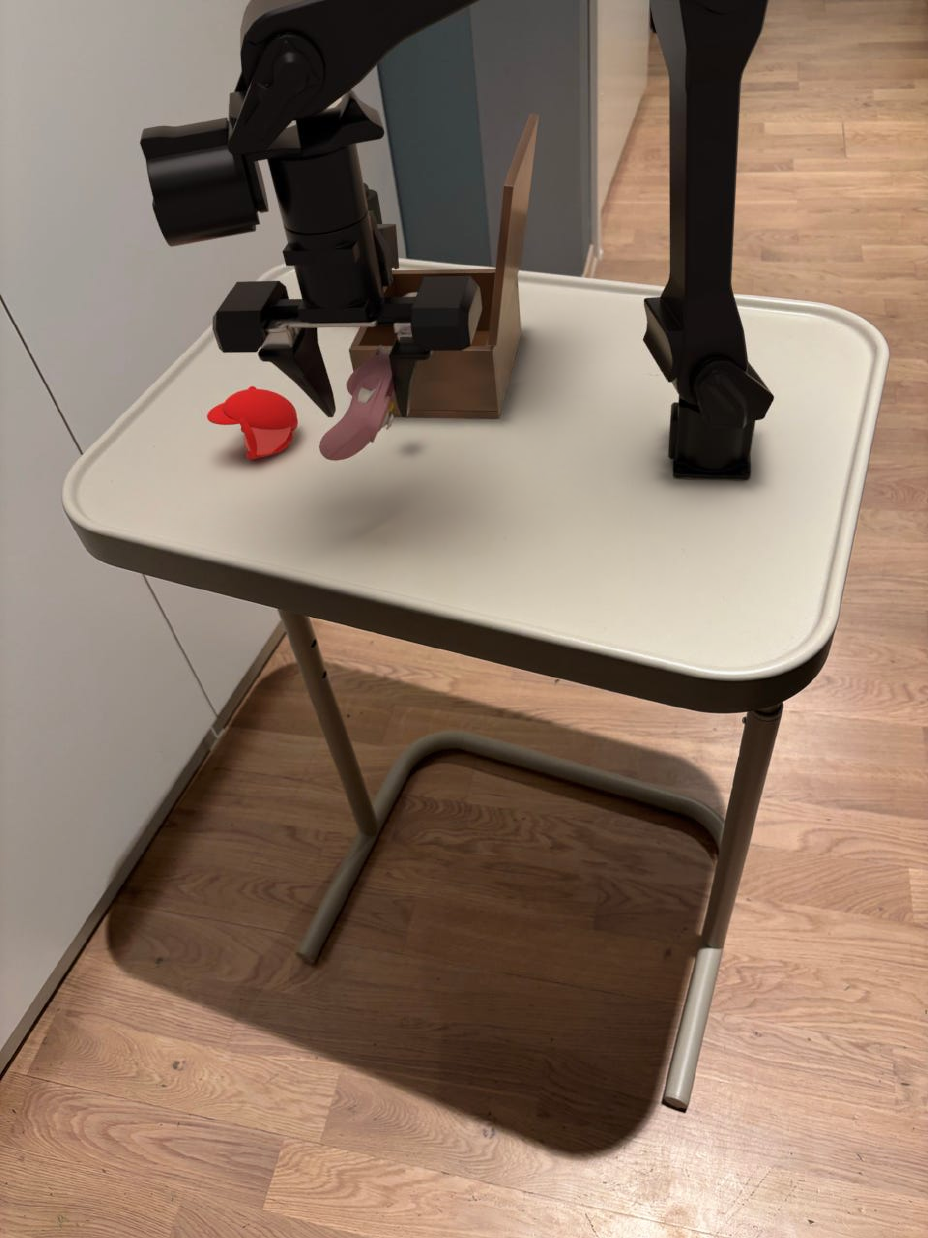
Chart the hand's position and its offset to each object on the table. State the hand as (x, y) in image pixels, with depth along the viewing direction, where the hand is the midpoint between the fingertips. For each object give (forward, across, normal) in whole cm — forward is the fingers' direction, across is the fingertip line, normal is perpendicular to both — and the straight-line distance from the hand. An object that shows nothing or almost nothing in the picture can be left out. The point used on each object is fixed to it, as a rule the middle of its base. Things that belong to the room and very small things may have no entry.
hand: (368, 414), depth 73 cm
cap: (+11, +15, -10) cm, 21 cm away
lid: (-4, -8, -23) cm, 24 cm away
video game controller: (+1, 0, 0) cm, 1 cm away
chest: (+11, 0, -23) cm, 25 cm away
